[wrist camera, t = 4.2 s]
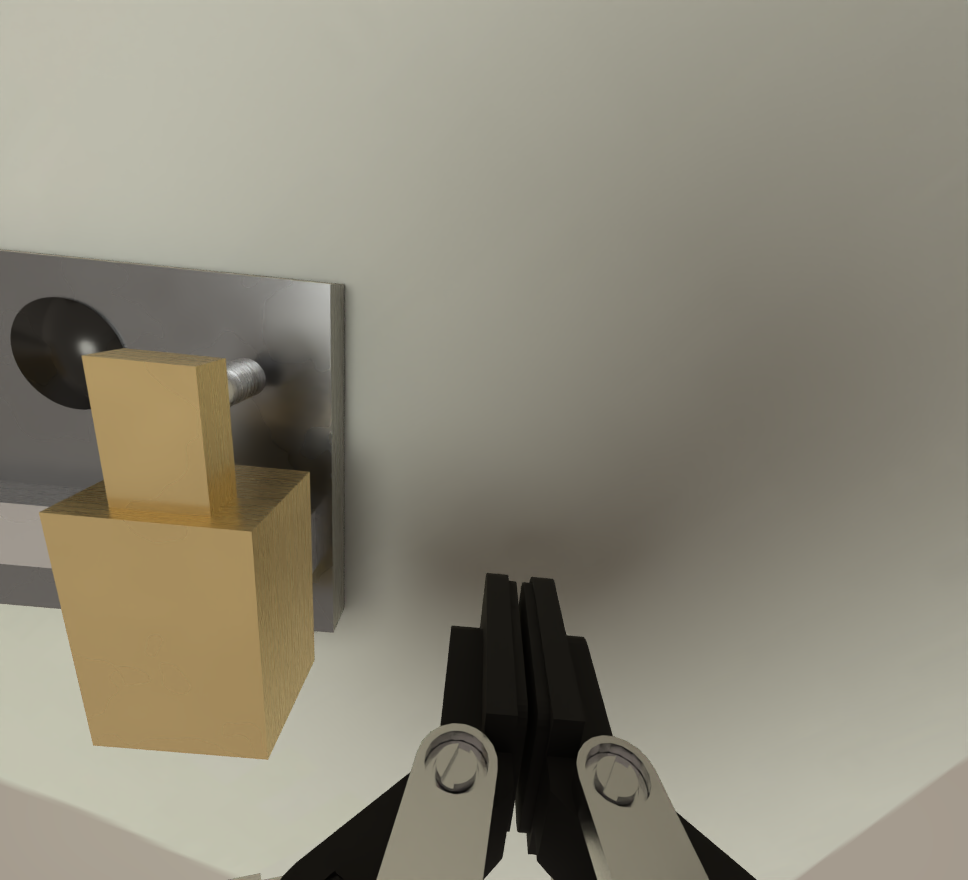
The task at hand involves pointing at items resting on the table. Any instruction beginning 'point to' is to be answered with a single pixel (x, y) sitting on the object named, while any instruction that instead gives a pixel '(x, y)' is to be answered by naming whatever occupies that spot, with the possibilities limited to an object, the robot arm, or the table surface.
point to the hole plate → (174, 329)
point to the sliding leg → (183, 564)
